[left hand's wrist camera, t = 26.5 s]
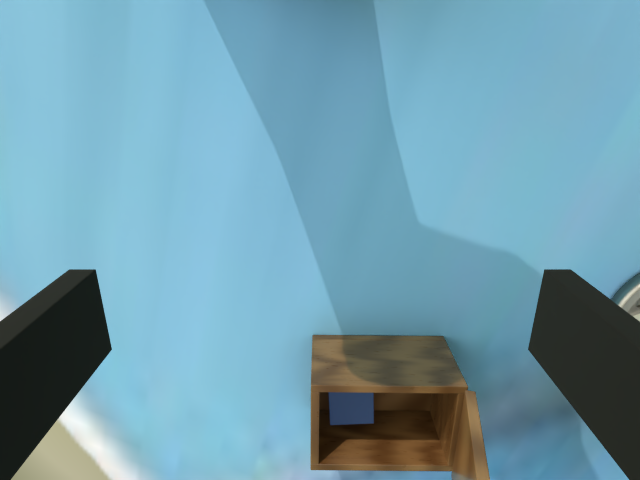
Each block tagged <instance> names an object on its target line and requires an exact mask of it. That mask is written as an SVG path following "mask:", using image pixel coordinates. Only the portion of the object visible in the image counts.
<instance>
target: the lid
mask: <svg viewBox="0 0 640 480" xmlns="http://www.w3.org/2000/svg"><path fill="white" fill-rule="evenodd" d="M452 480H490V477H489V471H488V465H487V459H486V453H485V447H484V441H483V435H482V429H481V423H480V417H479V411H478V405H477V399H476V393H475V392H474V391H467V390H465V393H464V399H463V405H462V412H461V418H460V424H459V431H458V437H457V443H456V450H455V456H454V462H453V469H452Z"/></svg>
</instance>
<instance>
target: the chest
mask: <svg viewBox="0 0 640 480" xmlns="http://www.w3.org/2000/svg"><path fill="white" fill-rule="evenodd" d="M465 390H468V386H467V384H466V382H465V380H464V378H463V375H462V373H461V371H460V369H459V367H458V365H457V363H456V361H455V359H454V357H453V355H452V353H451V351H450V349H449V347H448V345H447V343H446V341H445V339H444V336H365V335H313V337H312V369H311V470H371V471H452V469H453V462H454V456H455V450H456V443H457V437H458V431H459V424H460V418H461V412H462V405H463V399H464V393H465ZM328 392H347V393H374V423H372V424H347V425H330V415H329V397H328Z"/></svg>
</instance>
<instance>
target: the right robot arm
mask: <svg viewBox="0 0 640 480" xmlns="http://www.w3.org/2000/svg"><path fill="white" fill-rule="evenodd" d="M611 300H612V301H613V302H614V303H616V304H617V305H618V306H620V307H621V308H622V309H624V310H625V311H626V312H628V313H629V314H630V315H632V316H633V317H634V318H636V319H637V320H638V321H640V273H639V274H637V275H636V276H634V277H633V278H631V279H630V280H629V281H628V282H627V283H625V284H624V285H623V286H622V287H621V288H620V289H619V290H618V292H617V293H616V294H615V295H614V296H613V298H612V299H611Z"/></svg>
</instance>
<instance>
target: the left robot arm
mask: <svg viewBox="0 0 640 480" xmlns="http://www.w3.org/2000/svg"><path fill="white" fill-rule="evenodd" d="M111 350H112V348H111V343H110V338H109V333H108V328H107V323H106V318H105V313H104V309H103V304H102V299H101V294H100V289H99V284H98V279H97V274H96V270H68V271H67V272H66V273H64V274H63V275H62V276H60V277H59V278H58V279H56V280H55V281H54V282H52V283H51V284H50V285H48V286H47V287H46V288H44V289H43V290H42V291H40V292H39V293H38V294H36V295H35V296H34V297H32V298H31V299H30V300H28V301H27V302H26V303H24V304H23V305H22V306H20V307H19V308H18V309H16V310H15V311H14V312H12V313H11V314H10V315H8V316H7V317H6V318H4V319H3V320H2V321H0V480H11V478H12V477H13V476H14V475H15V473H16V472H17V471H18V469H19V468H20V467H21V466H22V464H23V463H24V462H25V460H26V459H27V458H28V457H29V455H30V454H31V453H32V451H33V450H34V449H35V448H36V446H37V445H38V444H39V442H40V441H41V440H42V438H43V437H44V436H45V435H46V433H47V432H48V431H49V430H50V428H51V427H52V426H53V424H54V423H55V422H56V421H57V419H58V418H59V417H60V415H61V414H62V413H63V412H64V410H65V409H66V408H67V406H68V405H69V404H70V403H71V401H72V400H73V399H74V397H75V396H76V395H77V394H78V392H79V391H80V390H81V388H82V387H83V386H84V385H85V383H86V382H87V381H88V379H89V378H90V377H91V375H92V374H93V373H94V372H95V370H96V369H97V368H98V366H99V365H100V364H101V363H102V361H103V360H104V359H105V357H106V356H107V355H108V354H109V352H110V351H111ZM528 350H529V351H530V352H531V354H532V355H533V356H534V357H535V359H536V360H537V361H538V363H539V364H540V365H541V366H542V368H543V369H544V370H545V372H546V373H547V374H548V375H549V377H550V378H551V379H552V381H553V382H554V383H555V385H556V386H557V387H558V388H559V390H560V391H561V392H562V394H563V395H564V396H565V397H566V399H567V400H568V401H569V403H570V404H571V405H572V406H573V408H574V409H575V410H576V412H577V413H578V414H579V415H580V417H581V418H582V419H583V421H584V422H585V423H586V424H587V426H588V427H589V428H590V430H591V431H592V432H593V433H594V435H595V436H596V437H597V439H598V440H599V441H600V442H601V444H602V445H603V446H604V448H605V449H606V450H607V451H608V453H609V454H610V455H611V457H612V458H613V459H614V460H615V462H616V463H617V464H618V466H619V467H620V468H621V469H622V471H623V472H624V473H625V475H626V476H627V477H628V478H629V480H640V321H638V320H637V319H636V318H634V317H633V316H632V315H630V314H629V313H628V312H626V311H625V310H624V309H622V308H621V307H620V306H618V305H617V304H616V303H614V302H613V301H612V300H610V299H609V298H608V297H606V296H605V295H604V294H602V293H601V292H600V291H598V290H597V289H596V288H594V287H593V286H592V285H590V284H589V283H588V282H586V281H585V280H584V279H582V278H581V277H580V276H578V275H577V274H576V273H574V272H573V271H572V270H544V274H543V279H542V284H541V289H540V294H539V299H538V304H537V309H536V313H535V318H534V323H533V328H532V333H531V338H530V343H529V348H528Z"/></svg>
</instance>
